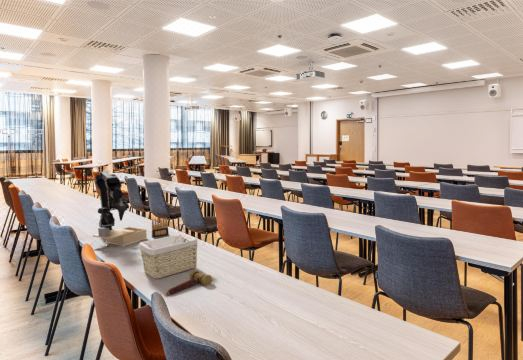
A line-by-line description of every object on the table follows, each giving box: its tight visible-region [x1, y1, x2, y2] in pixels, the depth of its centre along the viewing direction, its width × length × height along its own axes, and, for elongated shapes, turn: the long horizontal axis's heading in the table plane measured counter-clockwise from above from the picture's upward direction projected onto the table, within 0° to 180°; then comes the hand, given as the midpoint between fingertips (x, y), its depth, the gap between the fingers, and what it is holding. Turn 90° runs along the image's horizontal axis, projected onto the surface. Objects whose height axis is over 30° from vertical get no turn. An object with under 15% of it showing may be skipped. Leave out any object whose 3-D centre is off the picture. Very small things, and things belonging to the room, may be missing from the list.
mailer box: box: [105, 226, 148, 247], centre depth 236 cm, size 16×18×6 cm
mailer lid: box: [92, 227, 135, 240], centre depth 228 cm, size 16×18×5 cm
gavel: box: [164, 270, 213, 296], centre depth 160 cm, size 21×5×10 cm
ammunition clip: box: [151, 217, 170, 239], centre depth 245 cm, size 11×2×12 cm, turn 122°
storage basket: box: [138, 233, 198, 279], centre depth 181 cm, size 24×16×15 cm
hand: (114, 222), depth 233 cm, fingers open, 9 cm apart
